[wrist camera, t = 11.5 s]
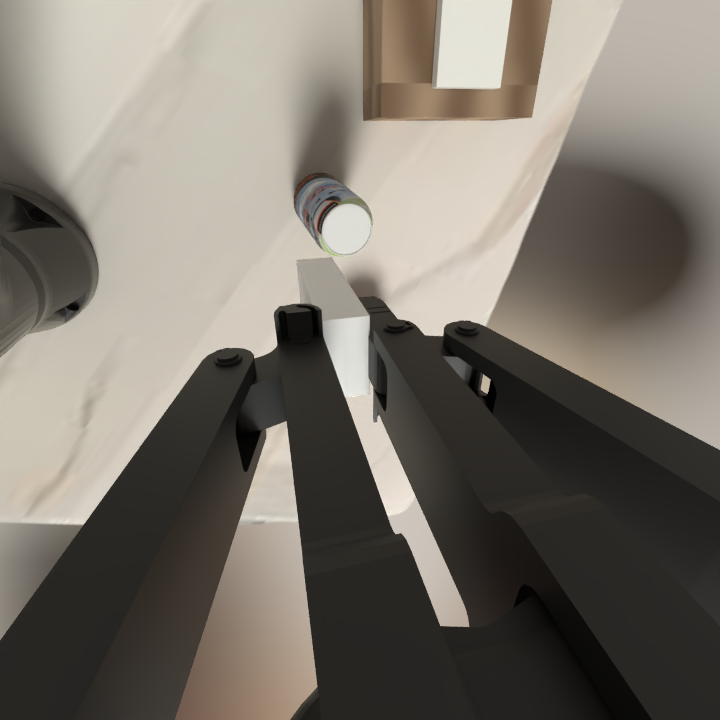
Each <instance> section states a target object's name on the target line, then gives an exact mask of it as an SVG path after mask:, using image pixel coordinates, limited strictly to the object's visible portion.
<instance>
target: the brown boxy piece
mask: <svg viewBox="0 0 720 720" xmlns="http://www.w3.org/2000/svg"><path fill="white" fill-rule="evenodd" d="M551 5H552V0H512V7H511V14H510V21H509V29H508V36H507V43H506V51H505V58H504V65H503V72H502V80H501V87H500V88H498V89H436V88H432V74H433V59H434V44H435V28H436V13H437V0H363V104H364V121H412V120H506V119H519V118H531V117H532V113H533V108H534V102H535V96H536V91H537V85H538V79H539V73H540V68H541V62H542V56H543V51H544V45H545V39H546V33H547V28H548V22H549V16H550V11H551Z"/></svg>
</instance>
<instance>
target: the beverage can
mask: <svg viewBox="0 0 720 720" xmlns="http://www.w3.org/2000/svg"><path fill="white" fill-rule="evenodd" d="M294 208H295V211H296V213H297V215H298V217H299V219H300V220H301V221H302V223H303V224H304V226H305V227H306V229H307V230H308V231H309V233H310V234H311V236H312V237H313V239H314V240H315V241H316V243H317V244H318V245H319V247H320V248H321V249H322V250H323V251H325V252H326V253H328V254H330V255H333V256H349V255H353V254H356V253H357V252H359V251H360V250H362V249H363V248H364V247H365V246H366V244H367V243H368V241H369V239H370V236H371V232H372V225H373V224H372V215H371V212H370V209H369V207H368V206H367V204H366V203H365V202H364V201H363V200H362V199H361V198H360V197H358V196H357V195H356V194H355V193H353V192H352V191H351V190H349V189H348V188H347V187H346V186H344V185H343V184H342V183H340V182H339V181H338V180H337V179H335V178H334V177H332V176H330V175H328V174H325V173H315V174H312V175H309V176H307V177H306V178H305V179H303V180H302V181H301V182H300V184H299V185H298V187H297V189H296V191H295V195H294Z"/></svg>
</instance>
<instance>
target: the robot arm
mask: <svg viewBox="0 0 720 720" xmlns="http://www.w3.org/2000/svg"><path fill="white" fill-rule="evenodd" d="M297 270H298V281H299V292H300V303H301V304H292V305H286V306H279V308H278V309H277V310H276V311H275V312H274V320H275V328H276V335H277V343H278V344H277V347H276V348H275V349H274V350H273V351H272V352H270V353H268V354H267V355H264V356H261V357H258V358H255V359H254V355H253V354H252V352H251V351H249V350H246V349H241V348H225V349H223V350H222V349H221V350H217V351H216V352H214V353H212V354H210V355H208V356H207V357H206V358H205V359H203V361H202V362H201V363H200V365H199V366H198V368H197V369H196V370H195V372H194V373H193V375H192V376H191V377H190V379H189V380H188V381H187V383H186V384H185V386H184V387H183V388H182V390H181V391H180V392H179V394H178V395H177V397H176V398H175V399H174V401H173V402H172V404H171V405H170V406H169V408H168V409H167V410H166V412H165V413H164V415H163V416H162V417H161V419H160V420H159V422H158V423H157V424H156V426H155V427H154V428H153V430H152V431H151V433H150V434H149V435H148V437H147V438H146V440H145V441H144V442H143V444H142V445H141V446H140V448H139V449H138V451H137V452H136V453H135V455H134V456H133V458H132V459H131V460H130V462H129V463H128V464H127V466H126V467H125V469H124V470H123V471H122V473H121V474H120V475H119V477H118V478H117V480H116V481H115V482H114V484H113V485H112V487H111V488H110V489H109V491H108V492H107V493H106V495H105V496H104V498H103V499H102V500H101V502H100V503H99V505H98V506H97V507H96V509H95V510H94V511H93V513H92V514H91V516H90V517H89V518H88V520H87V521H86V523H85V524H84V525H83V527H82V528H81V529H80V531H79V532H78V534H77V535H76V536H75V538H74V539H73V541H72V542H71V543H70V545H69V546H68V548H67V549H66V550H65V552H64V553H63V554H62V556H61V557H60V559H59V560H58V561H57V563H56V564H55V565H54V567H53V568H52V570H51V571H50V572H49V574H48V575H47V576H46V578H45V579H44V581H43V582H42V583H41V585H40V586H39V588H38V589H37V590H36V592H35V593H34V595H33V596H32V597H31V599H30V600H29V601H28V603H27V604H26V606H25V607H24V608H23V610H22V611H21V613H20V614H19V615H18V617H17V618H16V619H15V621H14V622H13V624H12V625H11V626H10V628H9V629H8V630H7V632H6V633H5V635H4V636H3V637H2V639H1V640H0V720H175V717H176V714H177V711H178V708H179V704H180V701H181V698H182V695H183V692H184V689H185V686H186V683H187V680H188V677H189V674H190V671H191V668H192V664H193V661H194V658H195V655H196V652H197V649H198V646H199V643H200V640H201V636H202V634H203V631H204V628H205V624H206V621H207V618H208V615H209V612H210V609H211V606H212V603H213V600H214V597H215V593H216V590H217V587H218V584H219V581H220V578H221V575H222V572H223V569H224V565H225V563H226V560H227V557H228V553H229V550H230V547H231V544H232V541H233V538H234V535H235V532H236V529H237V526H238V523H239V520H240V517H241V513H242V510H243V507H244V504H245V501H246V498H247V495H248V492H249V489H250V486H251V483H252V480H253V477H254V473H255V470H256V467H257V464H258V461H259V458H260V455H261V452H262V449H263V446H264V443H265V440H266V428H269V427H272V426H274V425H277V424H280V423H282V422H285V421H287V428H288V436H289V444H290V453H291V461H292V470H293V478H294V487H295V495H296V504H297V512H298V520H299V529H300V537H301V546H302V555H303V565H304V574H305V583H306V591H307V600H308V609H309V617H310V625H311V634H312V643H313V651H314V659H315V668H316V677H317V685H318V687H317V688H316V689H315V690H314V692H313V693H312V694H311V695H310V696H309V697H308V698H307V699H306V700H305V701H304V702H303V703H302V704H301V706H300V707H299V709H298V710H297V711H296V713H295V714H294V715H293V717H292V718H291V720H720V450H718V449H717V448H715V447H713V446H711V445H709V444H707V443H705V442H703V441H701V440H699V439H698V438H696V437H694V436H692V435H690V434H688V433H686V432H684V431H682V430H681V429H679V428H677V427H675V426H673V425H671V424H669V423H667V422H665V421H663V420H662V419H659V418H658V417H656V416H654V415H652V414H650V413H648V412H646V411H644V410H643V409H641V408H639V407H637V406H635V405H633V404H631V403H629V402H627V401H625V400H624V399H622V398H620V397H618V396H616V395H614V394H612V393H610V392H608V391H606V390H605V389H603V388H601V387H599V386H597V385H595V384H593V383H591V382H589V381H588V380H586V379H584V378H581V377H580V376H578V375H576V374H574V373H572V372H570V371H569V370H567V369H565V368H563V367H561V366H559V365H557V364H555V363H553V362H551V361H549V360H548V359H546V358H544V357H542V356H540V355H538V354H536V353H534V352H532V351H530V350H529V349H527V348H525V347H523V346H521V345H519V344H517V343H515V342H513V341H511V340H510V339H508V338H506V337H504V336H502V335H500V334H498V333H496V332H494V331H492V330H491V329H489V328H487V327H485V326H483V325H480V324H478V323H473V322H471V321H458V322H452V323H450V324H447V325H446V326H445V327H444V334H443V336H425V335H424V334H423V333H422V332H421V331H420V329H419V328H418V327H417V326H416V325H415V324H413V323H412V322H409V321H406V320H399V319H397V318H396V317H395V315H394V314H393V313H392V312H391V310H390V309H389V308H388V307H387V305H386V304H385V303H384V301H382V300H380V299H378V298H376V297H363V298H358V297H357V295H356V294H355V292H354V291H353V289H352V288H351V286H350V285H349V283H348V282H347V280H346V279H345V277H344V276H343V274H342V273H341V271H340V269H339V268H338V266H337V265H336V263H335V262H334V260H333V259H332V257H331V258H317V259H304V260H297ZM97 284H98V265H97V260H96V257H95V253H94V251H93V248H92V246H91V244H90V242H89V241H88V239H87V237H86V236H85V234H84V233H83V231H82V230H81V229H80V227H79V226H78V225H77V224H76V223H75V222H74V221H73V220H72V219H71V218H70V217H69V216H68V215H67V214H66V213H65V212H64V211H62V210H61V209H60V208H59V207H57V206H56V205H54V204H53V203H52V202H50V201H48V200H47V199H45V198H43V197H41V196H40V195H38V194H35V193H33V192H31V191H29V190H26V189H24V188H21V187H17V186H14V185H10V184H5V183H0V357H1V356H2V355H4V354H5V353H6V352H7V351H8V350H9V349H10V348H11V347H13V346H14V345H15V344H16V343H17V342H18V341H19V340H20V339H22V338H23V337H24V336H25V335H26V334H31V333H36V332H40V331H45V330H49V329H53V328H56V327H58V326H61V325H63V324H65V323H67V322H68V321H70V320H72V319H73V318H74V317H76V316H77V315H78V314H79V313H80V312H81V311H82V310H83V309H84V308H85V307H86V306H87V305H88V304H89V302H90V301H91V299H92V298H93V296H94V294H95V291H96V288H97ZM483 374H484V375H485V376H487V377H488V378H489V379H491V381H490V387H489V392H488V394H486V393H484V392H483V391H481V383H482V378H483ZM370 381H371V383H372V385H373V420H374V422H377V417H378V415H380V417H381V420H382V422H383V424H384V426H385V429H386V431H387V433H388V435H389V438H390V440H391V442H392V444H393V446H394V449H395V451H396V453H397V455H398V458H399V460H400V462H401V464H402V467H403V469H404V471H405V473H406V475H407V478H408V480H409V482H410V484H411V487H412V489H413V491H414V493H415V496H416V498H417V500H418V502H419V504H420V507H421V509H422V511H423V513H424V515H425V518H426V520H427V522H428V525H429V527H430V529H431V531H432V533H433V536H434V538H435V540H436V542H437V545H438V547H439V549H440V551H441V553H442V556H443V558H444V560H445V562H446V565H447V567H448V569H449V571H450V574H451V576H452V578H453V580H454V583H455V585H456V587H457V589H458V591H459V594H460V595H461V598H462V600H463V603H464V605H465V608H466V611H467V615H468V620H469V626H470V627H447V626H440V624H439V622H438V619H437V617H436V614H435V611H434V609H433V606H432V604H431V601H430V598H429V596H428V593H427V590H426V588H425V585H424V583H423V580H422V577H421V575H420V572H419V570H418V567H417V564H416V562H415V559H414V556H413V554H412V551H411V549H410V547H409V545H408V543H407V540H406V539H405V537H404V536H403V535H402V534H401V533H400V534H395V533H394V532H393V530H392V527H391V525H390V523H389V520H388V517H387V514H386V511H385V508H384V505H383V503H382V500H381V497H380V494H379V491H378V489H377V486H376V483H375V480H374V477H373V475H372V472H371V469H370V466H369V463H368V460H367V458H366V455H365V452H364V449H363V446H362V444H361V441H360V438H359V435H358V432H357V430H356V427H355V424H354V421H353V418H352V416H351V413H350V410H349V407H348V404H347V401H346V399H345V398H348V397H355V396H362V395H369V394H370Z"/></svg>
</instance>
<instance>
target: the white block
mask: <svg viewBox="0 0 720 720" xmlns="http://www.w3.org/2000/svg"><path fill="white" fill-rule="evenodd" d="M511 7H512V0H437V13H436V28H435V44H434V59H433V74H432V88H436V89H498V88H500V87H501V80H502V72H503V65H504V58H505V51H506V43H507V36H508V29H509V21H510V14H511Z"/></svg>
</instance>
